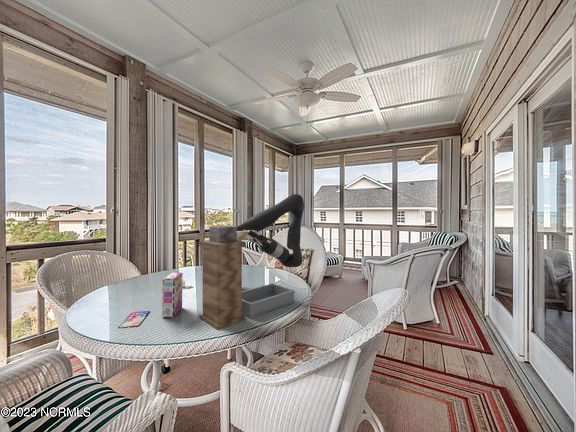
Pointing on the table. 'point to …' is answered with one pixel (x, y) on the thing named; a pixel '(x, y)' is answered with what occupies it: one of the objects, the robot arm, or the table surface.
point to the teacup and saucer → (185, 285)
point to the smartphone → (134, 319)
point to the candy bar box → (172, 295)
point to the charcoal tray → (265, 299)
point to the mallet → (227, 234)
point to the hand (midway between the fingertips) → (246, 231)
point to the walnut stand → (222, 283)
